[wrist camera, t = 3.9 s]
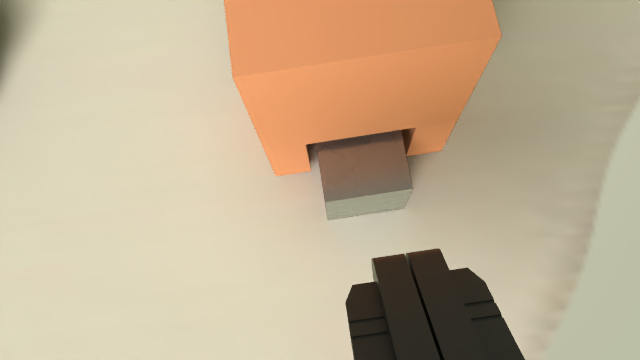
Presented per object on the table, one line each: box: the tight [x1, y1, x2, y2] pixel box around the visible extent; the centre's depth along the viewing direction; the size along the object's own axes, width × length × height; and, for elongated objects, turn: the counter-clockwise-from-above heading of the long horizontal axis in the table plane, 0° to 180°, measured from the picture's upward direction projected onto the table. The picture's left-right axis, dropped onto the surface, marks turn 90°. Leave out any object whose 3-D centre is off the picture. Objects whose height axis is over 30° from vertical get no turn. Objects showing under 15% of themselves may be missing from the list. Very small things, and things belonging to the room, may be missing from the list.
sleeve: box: [224, 0, 502, 176], centre depth 18 cm, size 4×7×9 cm, turn 99°
